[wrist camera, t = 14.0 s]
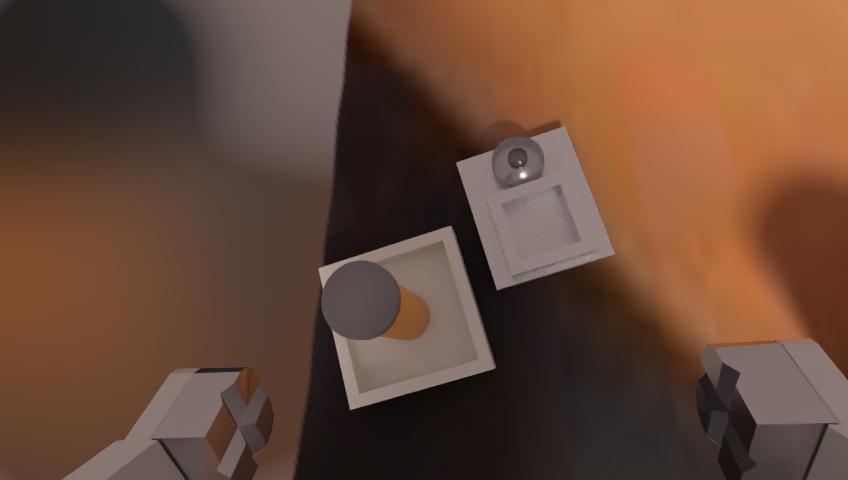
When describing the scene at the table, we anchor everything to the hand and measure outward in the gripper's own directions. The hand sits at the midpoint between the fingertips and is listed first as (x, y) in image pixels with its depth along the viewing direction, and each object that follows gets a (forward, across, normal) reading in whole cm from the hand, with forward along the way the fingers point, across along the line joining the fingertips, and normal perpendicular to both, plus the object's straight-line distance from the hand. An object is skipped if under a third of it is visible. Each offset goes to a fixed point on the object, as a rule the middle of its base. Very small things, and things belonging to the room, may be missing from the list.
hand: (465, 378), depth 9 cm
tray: (+26, +8, +21) cm, 35 cm away
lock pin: (+26, +8, +20) cm, 34 cm away
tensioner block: (+32, -3, +15) cm, 36 cm away
